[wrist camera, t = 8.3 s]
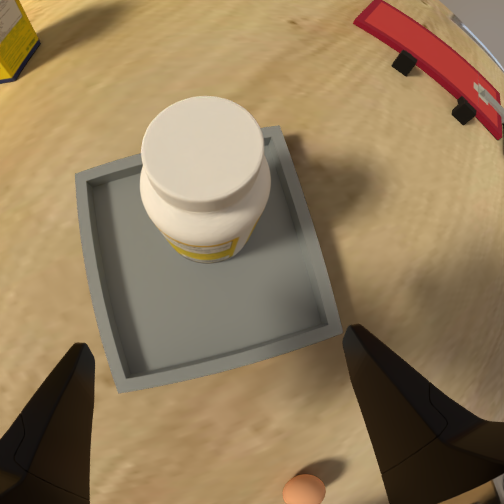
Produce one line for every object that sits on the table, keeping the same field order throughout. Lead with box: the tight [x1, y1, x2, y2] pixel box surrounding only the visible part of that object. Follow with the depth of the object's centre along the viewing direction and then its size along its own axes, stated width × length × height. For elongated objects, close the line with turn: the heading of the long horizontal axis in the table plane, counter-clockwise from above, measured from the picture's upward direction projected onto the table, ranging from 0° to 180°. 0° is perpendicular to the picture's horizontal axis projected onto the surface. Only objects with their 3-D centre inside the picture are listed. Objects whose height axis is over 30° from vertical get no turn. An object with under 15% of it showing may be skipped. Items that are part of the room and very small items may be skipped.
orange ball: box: [283, 474, 326, 504], centre depth 15 cm, size 3×3×3 cm
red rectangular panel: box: [353, 0, 504, 140], centre depth 25 cm, size 30×3×15 cm
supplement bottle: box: [140, 96, 271, 264], centre depth 14 cm, size 5×5×10 cm
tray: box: [75, 126, 343, 393], centre depth 18 cm, size 14×14×2 cm
